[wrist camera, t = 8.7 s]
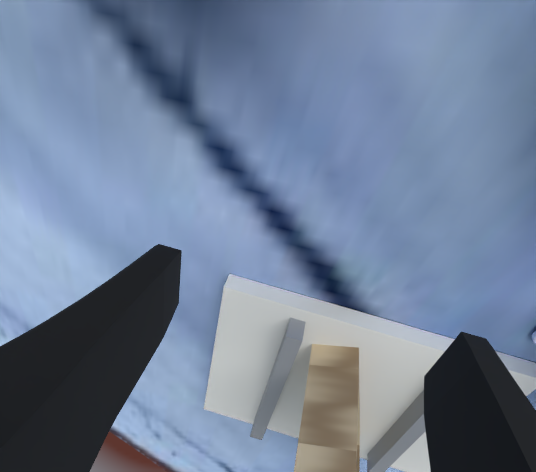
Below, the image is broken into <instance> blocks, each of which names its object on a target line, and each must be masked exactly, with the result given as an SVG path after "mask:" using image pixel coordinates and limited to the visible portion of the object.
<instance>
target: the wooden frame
mask: <svg viewBox="0 0 536 472" xmlns="http://www.w3.org/2000/svg"><path fill="white" fill-rule="evenodd" d="M359 461H360V397H359V348H358V347H345V346H332V345H319V344H312V348H311V355H310V362H309V369H308V376H307V383H306V390H305V397H304V404H303V411H302V418H301V425H300V432H299V439H298V446H297V453H296V460H295V467H294V472H359Z"/></svg>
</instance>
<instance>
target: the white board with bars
mask: <svg viewBox="0 0 536 472" xmlns="http://www.w3.org/2000/svg"><path fill="white" fill-rule="evenodd" d="M454 340H455V339H452V338H449V337H445V336H442V335H438V334H435V333H431V332H428V331H425V330H421V329H418V328H414V327H411V326H407V325H404V324H401V323H397V322H394V321H390V320H387V319H383V318H380V317H376V316H373V315H370V314H366V313H363V312H359V311H356V310H352V309H349V308H346V307H342V306H339V305H335V304H332V303H328V302H325V301H321V300H318V299H315V298H311V297H308V296H304V295H301V294H297V293H294V292H291V291H287V290H284V289H280V288H277V287H273V286H270V285H266V284H263V283H260V282H256V281H253V280H249V279H246V278H242V277H239V276H236V275H232V274H229V276H228V278H227V281H226V283H225V285H224V289H223V295H222V301H221V307H220V313H219V319H218V325H217V331H216V337H215V343H214V349H213V355H212V361H211V368H210V374H209V380H208V386H207V392H206V398H205V404H204V409H205V410H208V411H211V412H214V413H218V414H221V415H224V416H227V417H231V418H234V419H237V420H240V421H243V422H247V423H250V424H253V427H252V431H251V435H250V437H253V438H256V439H259V440H262V438H263V436H264V433H265V431H266V429H269V430H272V431H276V432H279V433H282V434H285V435H289V436H292V437H295V438H298V439H299V432H300V425H301V418H302V411H303V404H304V397H305V390H306V383H307V376H308V369H309V362H310V355H311V348H312V344H319V345H332V346H345V347H358V348H359V397H360V458H363V459H366V460H367V472H385V471H386V470H387V469H388V468H389V467H392V468H395V469H398V470H401V471H405V472H431V469H430V462H429V454H428V446H427V438H426V430H425V421H424V376H425V375H426V373H427V372H428V371H429V370H430V369H431V367H432V366H433V365H434V364H435V363H436V361H437V360H438V359H439V358H440V357H441V355H442V354H443V353H444V352H445V351H446V350H447V348H448V347H449V346H450V345H451V344H452V342H453V341H454ZM495 352H496V353H497V355H498V356H499V358H500V359H501V360H502V362H503V363H504V365H505V366H506V368H507V369H508V371H509V372H510V374H511V375H512V377H513V378H514V380H515V381H516V383H517V384H518V385H519V387H520V388H521V390H522V391H523V393H524V394H525V396H528V395H529V394H530V393H531V392H533V391H534V390H535V389H536V363H535V362H531V361H528V360H524V359H521V358H517V357H514V356H511V355H507V354H504V353H500V352H497V351H495Z"/></svg>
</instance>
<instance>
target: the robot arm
mask: <svg viewBox="0 0 536 472" xmlns="http://www.w3.org/2000/svg"><path fill="white" fill-rule="evenodd" d="M180 269H181V250H178V249H174V248H171V247H167V246H164V245H160V244H158V245H156V246H154V247H153V248H152V249H150V250H149V251H148V252H146V253H145V254H144V255H142V256H141V257H140V258H138V259H137V260H136V261H134V262H133V263H132V264H130V265H129V266H128V267H126V268H125V269H123V270H122V271H121V272H119V273H118V274H116V275H115V276H114V277H112V278H111V279H109V280H108V281H107V282H105V283H104V284H102V285H101V286H99V287H98V288H96V289H95V290H93V291H92V292H90V293H89V294H88V295H86V296H85V297H83V298H82V299H80V300H79V301H77V302H75V303H74V304H72V305H71V306H69V307H67V308H66V309H64V310H63V311H61V312H59V313H58V314H56V315H54V316H53V317H51V318H50V319H48V320H46V321H45V322H43V323H41V324H40V325H38V326H36V327H35V328H33V329H31V330H29V331H28V332H26V333H24V334H22V335H20V336H19V337H17V338H15V339H13V340H11V341H9V342H8V343H6V344H4V345H2V346H0V472H89V471H90V469H91V467H92V465H93V463H94V461H95V459H96V457H97V455H98V452H99V450H100V448H101V446H102V444H103V442H104V440H105V438H106V436H107V434H108V432H109V430H110V428H111V426H112V425H113V423H114V421H115V419H116V417H117V415H118V414H119V412H120V410H121V409H122V407H123V405H124V404H125V402H126V400H127V398H128V397H129V395H130V393H131V392H132V390H133V388H134V387H135V385H136V383H137V382H138V380H139V378H140V376H141V375H142V373H143V371H144V370H145V368H146V366H147V365H148V363H149V361H150V360H151V358H152V356H153V354H154V353H155V351H156V349H157V348H158V346H159V344H160V342H161V341H162V339H163V337H164V335H165V333H166V330H167V328H168V326H169V324H170V322H171V319H172V317H173V315H174V312H175V310H176V308H177V306H178V303H179V286H180ZM532 340H533V342H534V343H535V344H536V331H535V332H534V333H533V334H532ZM424 421H425V430H426V438H427V446H428V454H429V462H430V469H431V472H536V410H535V409H534V408H533V406H532V405H531V403H530V402H529V400H528V399H527V397H526V396H525V394H524V393H523V391H522V390H521V388H520V387H519V385H518V384H517V383H516V381H515V380H514V378H513V377H512V375H511V374H510V372H509V371H508V369H507V368H506V366H505V365H504V363H503V362H502V360H501V359H500V358H499V356H498V355H497V353H496V352H495V350H494V349H493V347H492V346H491V345H490V343H489V342H488V341H487V339H485V338H482V337H478V336H475V335H471V334H468V333H464V332H461V333H460V334H459V335H458V336H457V338H456V339H455V340H454V341H453V342H452V344H451V345H450V346H449V347H448V348H447V350H446V351H445V352H444V353H443V354H442V355H441V357H440V358H439V359H438V360H437V361H436V363H435V364H434V365H433V366H432V367H431V369H430V370H429V371H428V372H427V373H426V375H425V376H424Z"/></svg>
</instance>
